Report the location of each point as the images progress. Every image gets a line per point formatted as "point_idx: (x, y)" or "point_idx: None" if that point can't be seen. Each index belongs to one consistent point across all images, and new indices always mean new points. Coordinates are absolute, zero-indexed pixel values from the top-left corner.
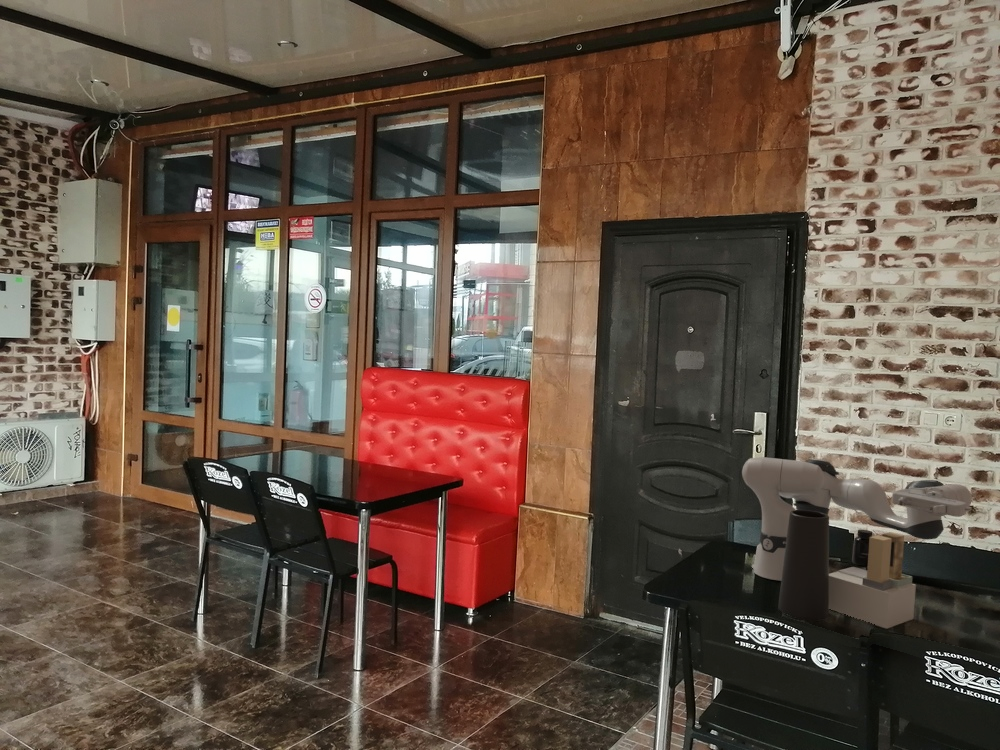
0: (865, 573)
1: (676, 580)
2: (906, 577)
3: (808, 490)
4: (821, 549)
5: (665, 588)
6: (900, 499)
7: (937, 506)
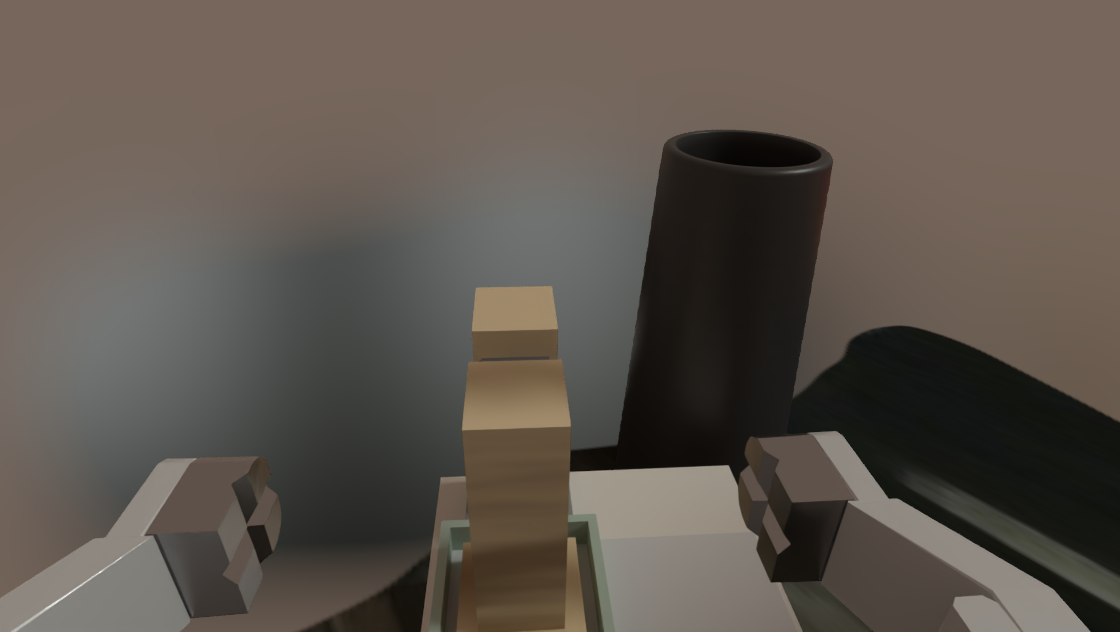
0: (671, 606)
1: (1028, 397)
2: (439, 619)
3: None
4: (645, 262)
5: (940, 350)
6: (821, 444)
7: (120, 518)
